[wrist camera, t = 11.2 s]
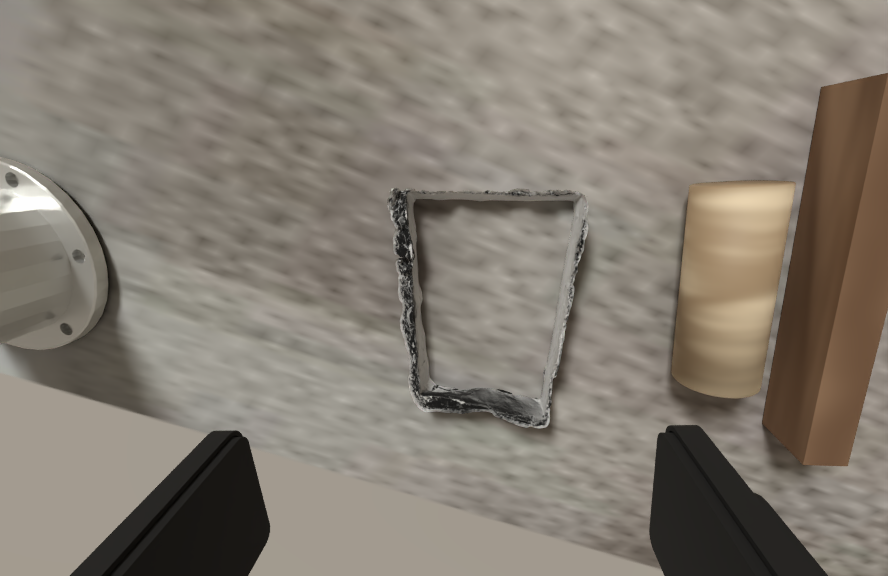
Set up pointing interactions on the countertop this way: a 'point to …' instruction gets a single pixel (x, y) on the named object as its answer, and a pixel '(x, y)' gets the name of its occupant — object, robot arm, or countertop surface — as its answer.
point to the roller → (729, 284)
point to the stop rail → (834, 278)
